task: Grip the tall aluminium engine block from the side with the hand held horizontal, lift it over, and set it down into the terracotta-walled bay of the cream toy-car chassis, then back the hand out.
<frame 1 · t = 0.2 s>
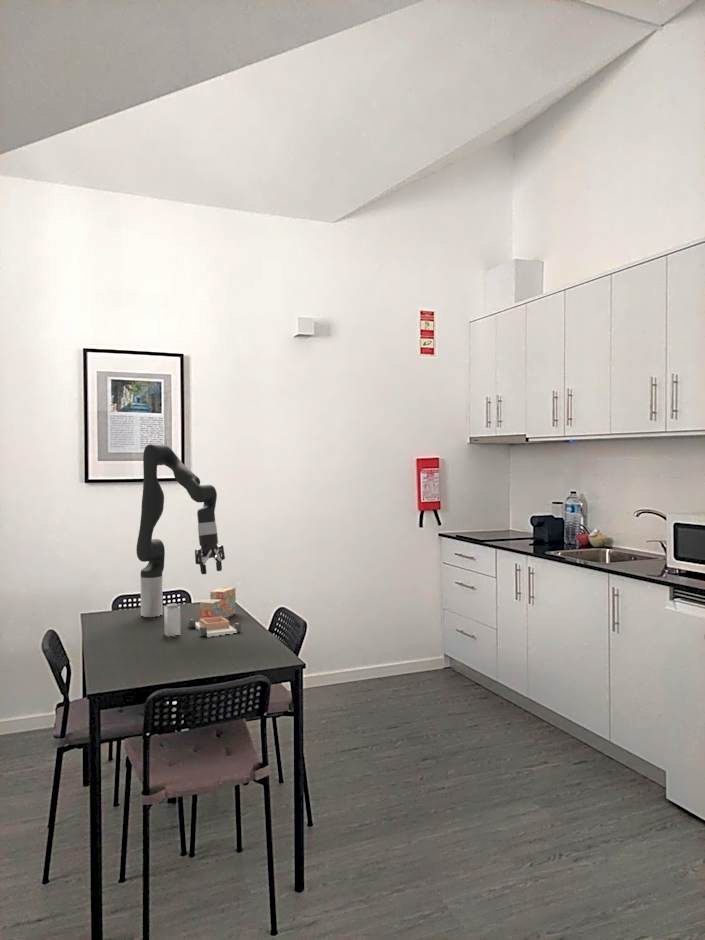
hand: (211, 572, 306), 22 cm above the table, tool pointing down, fingers open, 8 cm apart
chassis: (214, 629, 301), on the table
engine block: (172, 634, 292), on the table
stack of blocks: (218, 619, 320), on the table, touching chassis
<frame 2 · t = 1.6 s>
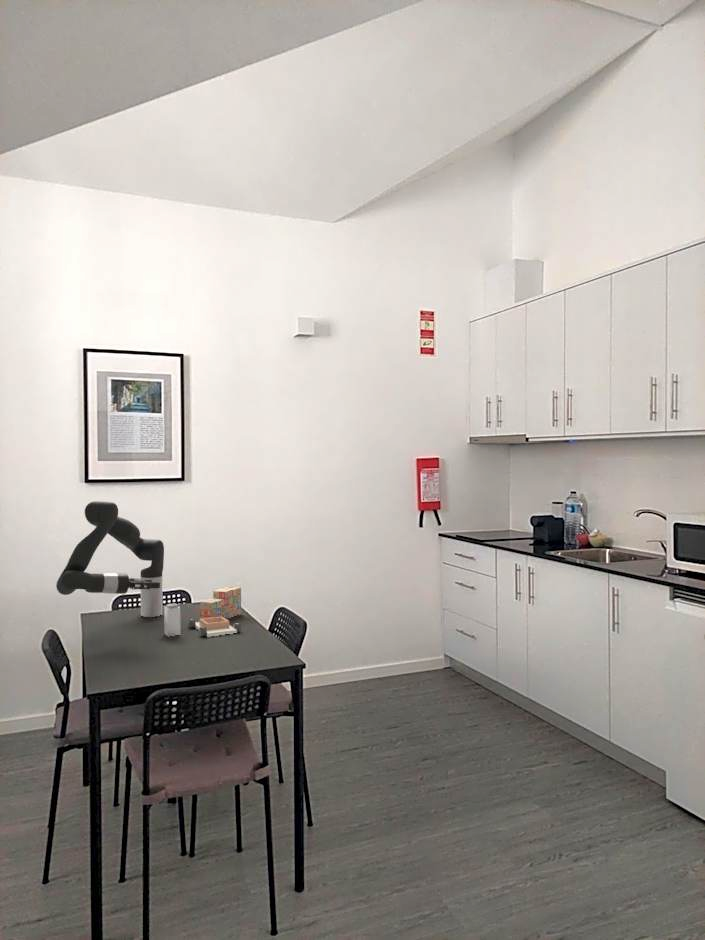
hand: (155, 584, 288), 21 cm above the table, tool horizontal, fingers open, 8 cm apart
stack of blocks: (221, 619, 320), on the table, touching chassis
everything else where it was.
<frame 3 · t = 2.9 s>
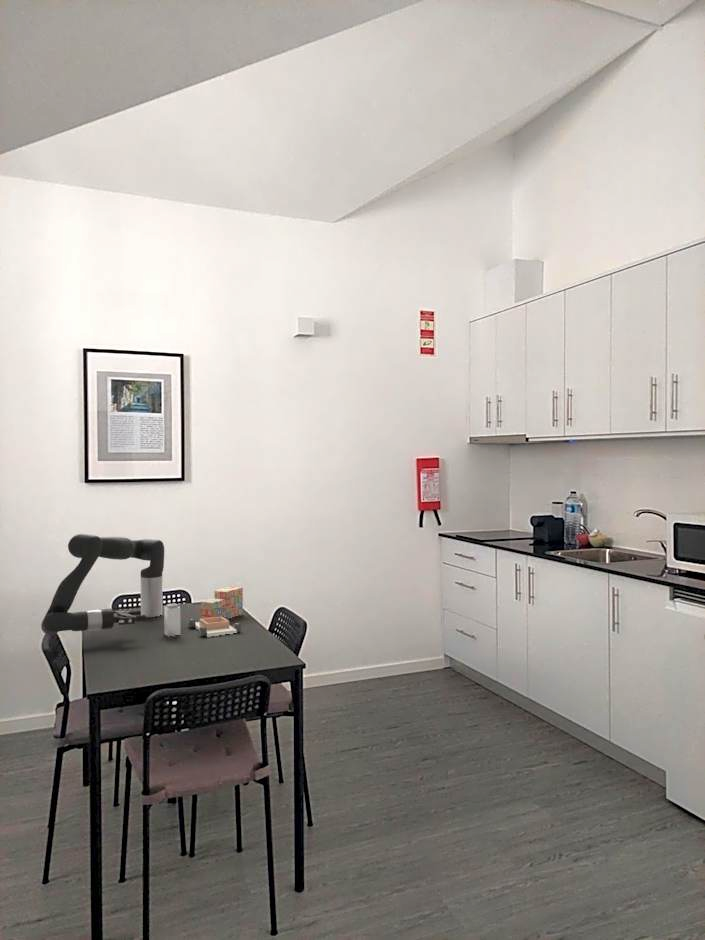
hand: (143, 615, 287), 9 cm above the table, tool horizontal, fingers open, 8 cm apart
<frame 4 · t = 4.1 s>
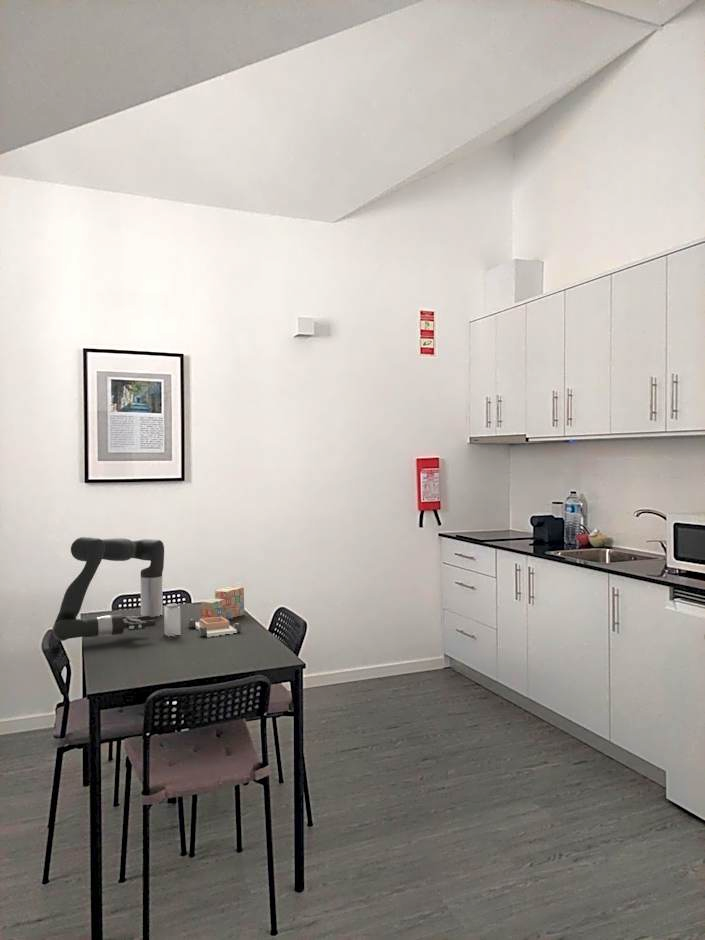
hand: (152, 620, 289), 6 cm above the table, tool horizontal, fingers open, 8 cm apart
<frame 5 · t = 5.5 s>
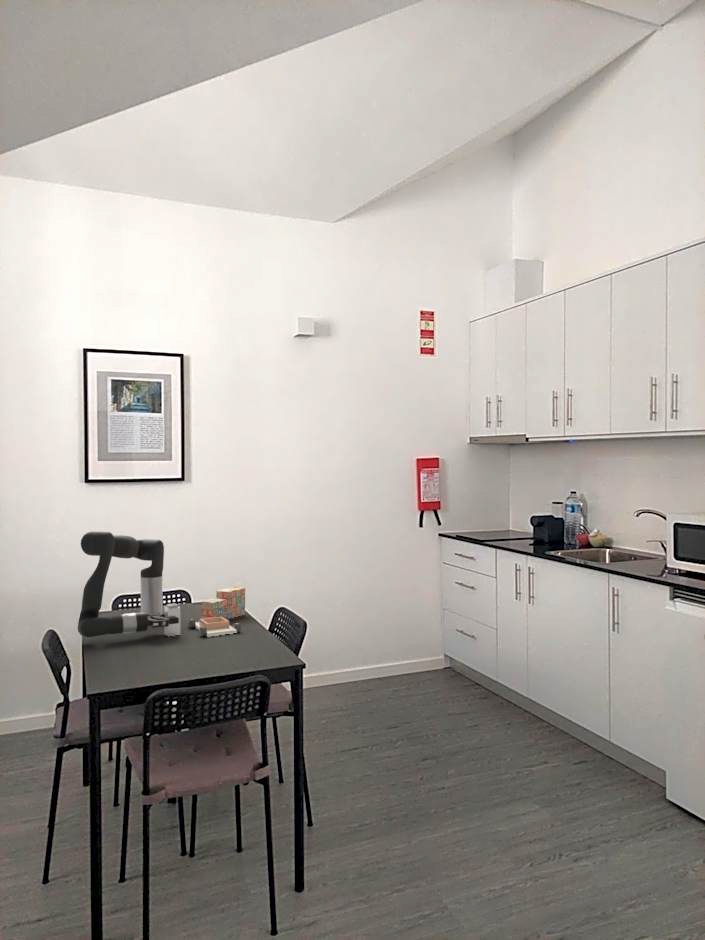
hand: (175, 618, 293), 6 cm above the table, tool horizontal, fingers open, 8 cm apart
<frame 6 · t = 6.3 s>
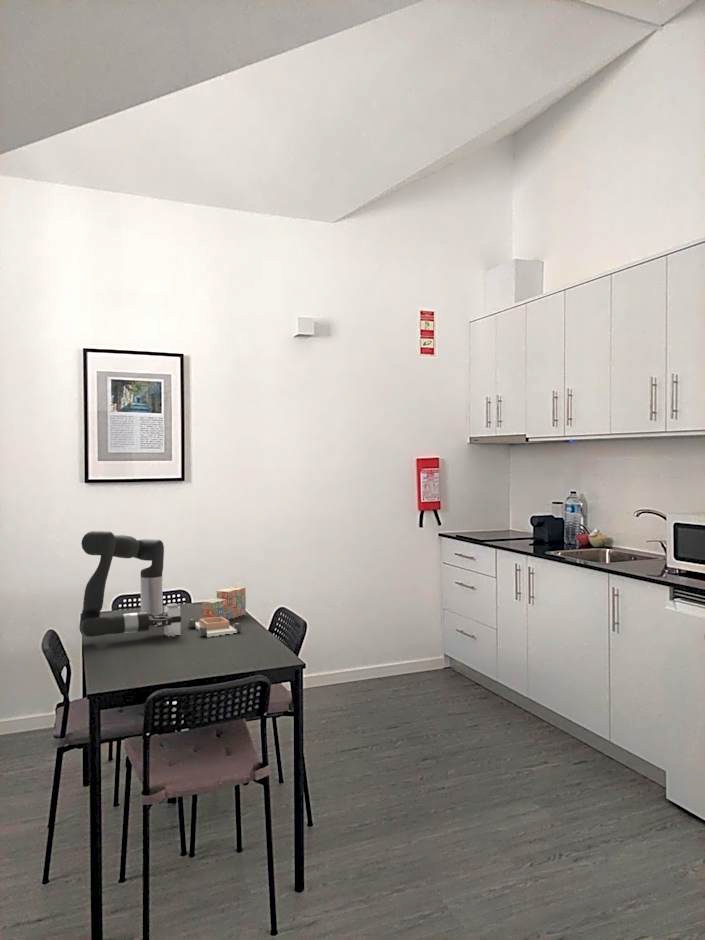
hand: (178, 617, 293), 7 cm above the table, tool horizontal, fingers closed on engine block, 5 cm apart
engine block: (172, 634, 292), on the table, touching gripper
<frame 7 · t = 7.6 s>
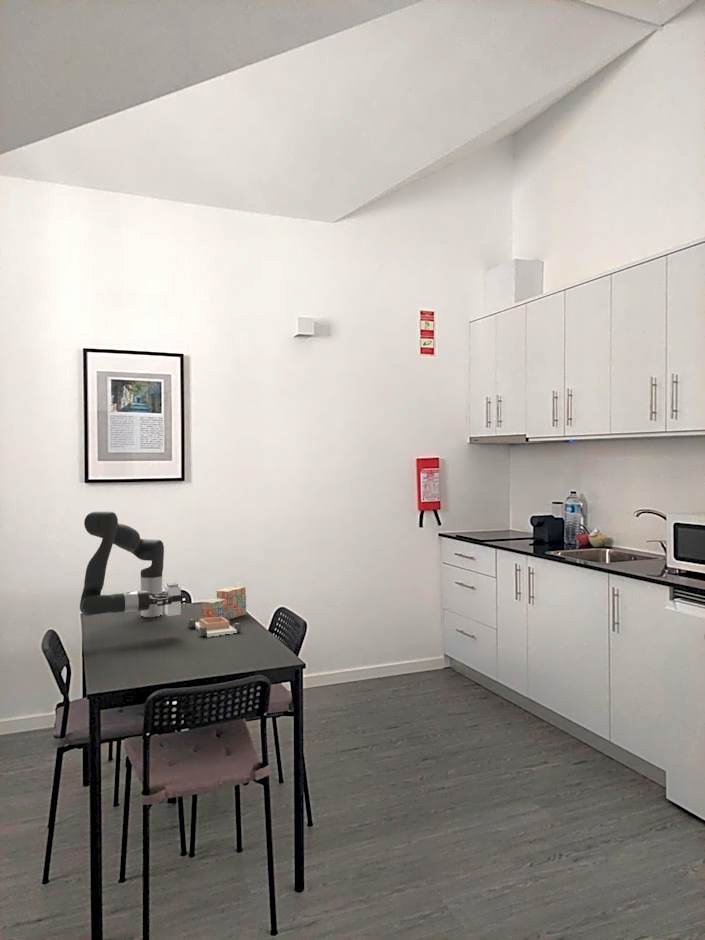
hand: (179, 596, 293), 15 cm above the table, tool horizontal, fingers closed on engine block, 5 cm apart
engine block: (172, 614, 292), point 8 cm above the table, touching gripper
when the fingers open (9 cm above the table, at t = 11.4 s): engine block drops 1 cm, resting on chassis.
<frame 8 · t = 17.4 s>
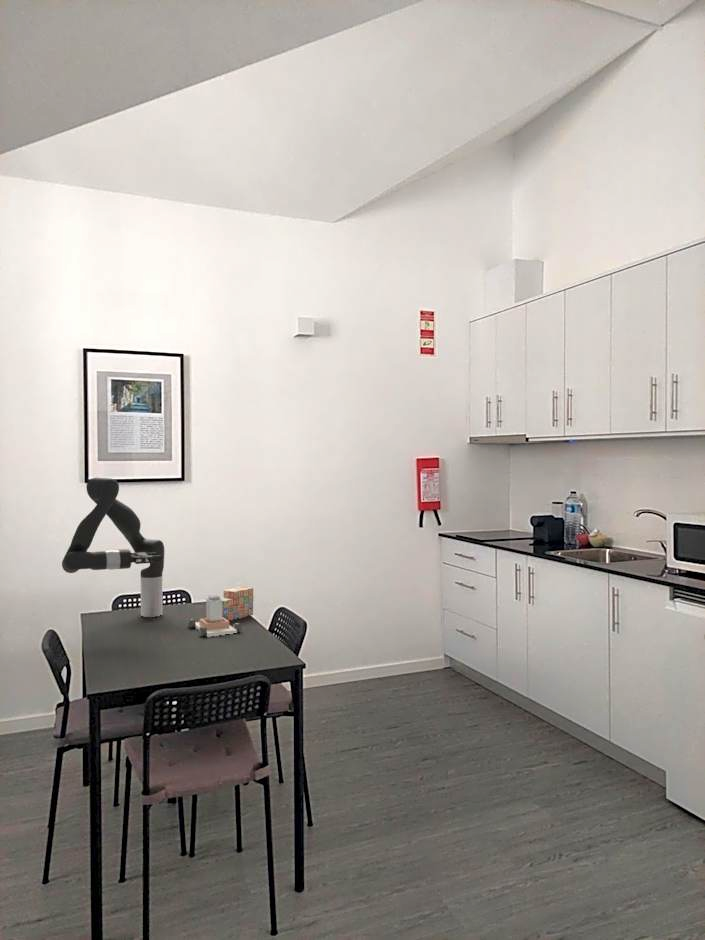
hand: (159, 556, 297), 30 cm above the table, tool horizontal, fingers open, 8 cm apart
engine block: (214, 626, 300), point 1 cm above the table, touching chassis
stack of blocks: (231, 619, 321), on the table, touching chassis
at the end: engine block 0.0 cm off-centre on the chassis, point 1.5 cm above the chassis's base; engine block tilted 0°; the gripper is holding nothing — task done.
